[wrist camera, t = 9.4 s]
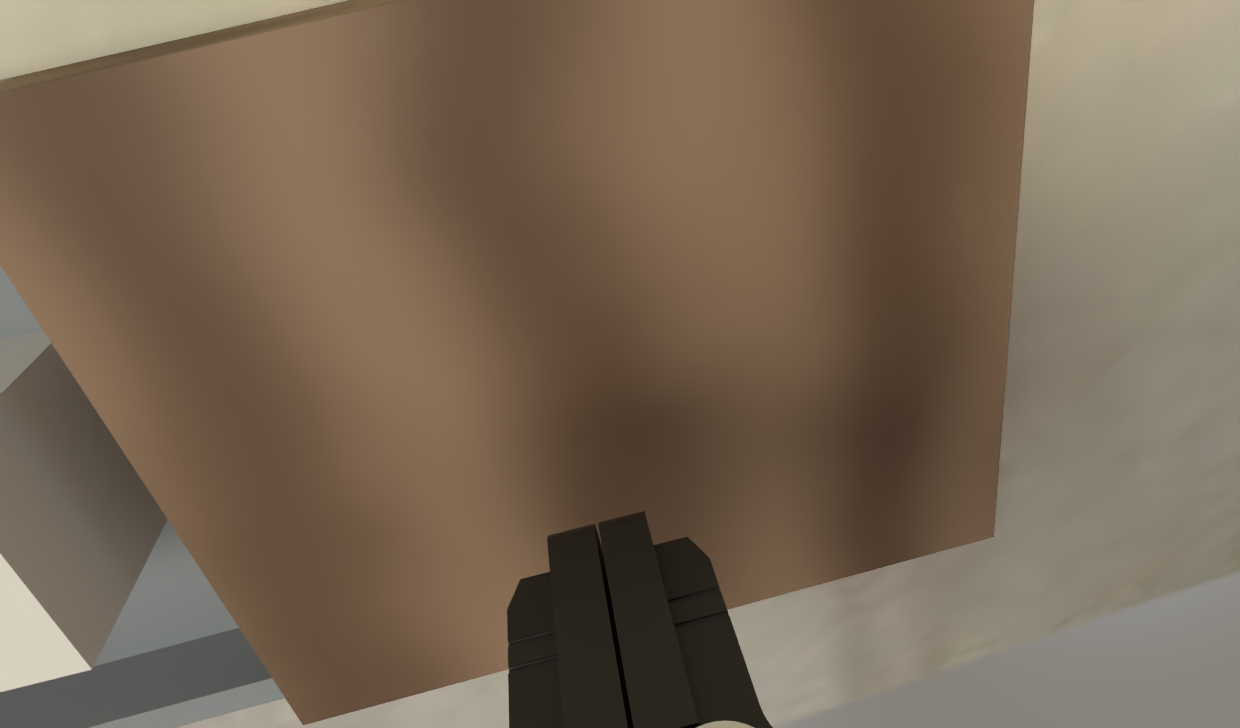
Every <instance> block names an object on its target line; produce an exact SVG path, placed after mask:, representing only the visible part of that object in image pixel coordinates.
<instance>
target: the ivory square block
mask: <svg viewBox="0 0 1240 728" xmlns="http://www.w3.org/2000/svg"><path fill="white" fill-rule="evenodd" d="M167 520H168V519H167V518H166V516H165V515H164V513H163V512H162V510H161V509H160V507H159V505H158V504H157V502H156V501H155V499H154V498H153V496H152V495H151V493H150V492H149V490H148V489H147V487H146V486H145V484H144V483H143V481H142V480H141V478H140V477H139V475H138V474H137V472H136V471H135V469H134V468H133V466H132V464H131V463H130V461H129V460H128V458H127V457H126V455H125V454H124V452H123V451H122V449H121V448H120V446H119V445H118V443H117V442H116V440H115V439H114V437H113V436H112V434H111V433H110V431H109V430H108V428H107V427H106V425H105V423H104V422H103V420H102V419H101V417H100V416H99V414H98V413H97V411H96V410H95V408H94V407H93V405H92V404H91V402H90V401H89V399H88V398H87V396H86V395H85V393H84V392H83V390H82V389H81V387H80V386H79V384H78V383H77V381H76V379H75V378H74V376H73V375H72V373H71V372H70V370H69V369H68V367H67V366H66V364H65V363H64V361H63V360H62V358H61V357H60V355H59V354H58V352H57V351H56V349H55V348H54V346H53V345H52V343H51V342H50V340H49V338H48V337H47V335H46V334H45V332H44V331H43V330H42V331H38V332H33V333H29V334H24V335H20V336H15V337H11V338H6V339H2V340H0V692H3V691H7V690H11V689H15V688H19V687H23V686H28V685H32V684H36V683H40V682H44V681H48V680H52V679H56V678H60V677H64V676H68V675H72V674H76V673H80V672H84V671H88V670H92V669H93V667H94V665H95V663H96V661H97V659H98V657H99V655H100V653H101V651H102V649H103V647H104V645H105V643H106V641H107V639H108V637H109V635H110V633H111V631H112V629H113V627H114V625H115V623H116V621H117V619H118V617H119V615H120V613H121V611H122V609H123V607H124V605H125V603H126V601H127V599H128V597H129V595H130V593H131V591H132V589H133V587H134V585H135V583H136V581H137V579H138V577H139V575H140V573H141V571H142V569H143V567H144V565H145V563H146V561H147V559H148V557H149V555H150V553H151V551H152V549H153V547H154V546H155V544H156V542H157V540H158V538H159V536H160V534H161V532H162V530H163V528H164V526H165V524H166V522H167Z"/></svg>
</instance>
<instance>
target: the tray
mask: <svg viewBox="0 0 1240 728" xmlns="http://www.w3.org/2000/svg"><path fill="white" fill-rule="evenodd" d="M17 77H18V76H17ZM13 78H15V77H13ZM9 79H12V78H8V79H4V80H0V82H3V81H6V80H9ZM42 330H43V329H42V328H41V326H40V325H39V323H38V322H37V320H36V319H35V317H34V316H33V314H32V313H31V311H30V310H29V308H28V307H27V305H26V304H25V302H24V301H23V299H22V297H21V296H20V294H19V293H18V291H17V290H16V288H15V287H14V285H13V284H12V282H11V281H10V279H9V278H8V276H7V275H6V273H5V272H4V270H3V269H2V267H1V266H0V340H2V339H6V338H11V337H15V336H20V335H24V334H29V333H33V332H38V331H42ZM282 698H285V697H284V695H283V694H282V692H281V691H280V689H279V688H278V686H277V685H276V683H275V682H274V680H273V679H272V677H271V676H270V674H269V672H268V671H267V669H266V668H265V666H264V665H263V663H262V662H261V660H260V659H259V657H258V656H257V654H256V653H255V651H254V650H253V648H252V647H251V645H250V644H249V642H248V641H247V639H246V638H245V636H244V635H243V633H242V631H241V630H240V628H239V627H238V625H237V624H236V622H235V621H234V619H233V618H232V616H231V615H230V613H229V612H228V610H227V609H226V607H225V606H224V604H223V603H222V601H221V600H220V598H219V597H218V595H217V594H216V592H215V591H214V589H213V587H212V586H211V584H210V583H209V581H208V580H207V578H206V577H205V575H204V574H203V572H202V571H201V569H200V568H199V566H198V565H197V563H196V562H195V560H194V559H193V557H192V556H191V554H190V553H189V551H188V550H187V548H186V546H185V545H184V543H183V542H182V540H181V539H180V537H179V536H178V534H177V533H176V531H175V530H174V528H173V527H172V525H171V524H170V522H169V521H168V520H167V522H166V524H165V526H164V528H163V530H162V532H161V534H160V536H159V538H158V540H157V542H156V544H155V546H154V547H153V549H152V551H151V553H150V555H149V557H148V559H147V561H146V563H145V565H144V567H143V569H142V571H141V573H140V575H139V577H138V579H137V581H136V583H135V585H134V587H133V589H132V591H131V593H130V595H129V597H128V599H127V601H126V603H125V605H124V607H123V609H122V611H121V613H120V615H119V617H118V619H117V621H116V623H115V625H114V627H113V629H112V631H111V633H110V635H109V637H108V639H107V641H106V643H105V645H104V647H103V649H102V651H101V653H100V655H99V657H98V659H97V661H96V663H95V665H94V667H93V669H92V670H88V671H84V672H80V673H76V674H72V675H68V676H64V677H60V678H56V679H52V680H48V681H44V682H40V683H36V684H32V685H28V686H23V687H19V688H15V689H11V690H7V691H3V692H0V728H175V727H179V726H183V725H186V724H190V723H194V722H197V721H201V720H205V719H209V718H212V717H216V716H220V715H223V714H227V713H231V712H234V711H238V710H242V709H245V708H249V707H253V706H256V705H260V704H264V703H268V702H271V701H275V700H279V699H282Z"/></svg>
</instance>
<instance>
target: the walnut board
mask: <svg viewBox="0 0 1240 728" xmlns="http://www.w3.org/2000/svg"><path fill="white" fill-rule="evenodd" d="M1033 9H1034V0H349V1H345V2H340V3H336V4H332V5H327V6H323V7H318V8H314V9H310V10H305V11H301V12H297V13H292V14H288V15H284V16H279V17H275V18H270V19H266V20H262V21H257V22H253V23H249V24H244V25H240V26H236V27H231V28H227V29H222V30H218V31H214V32H209V33H205V34H201V35H196V36H192V37H187V38H183V39H179V40H174V41H170V42H166V43H161V44H157V45H153V46H148V47H144V48H139V49H135V50H131V51H126V52H122V53H118V54H113V55H109V56H105V57H100V58H96V59H91V60H87V61H83V62H78V63H74V64H70V65H65V66H61V67H57V68H52V69H48V70H43V71H39V72H35V73H30V74H26V75H22V76H18V77H15V78H12V79H9V80H6V81H3V82H0V266H1V267H2V269H3V270H4V272H5V273H6V275H7V276H8V278H9V279H10V281H11V282H12V284H13V285H14V287H15V288H16V290H17V291H18V293H19V294H20V296H21V297H22V299H23V301H24V302H25V304H26V305H27V307H28V308H29V310H30V311H31V313H32V314H33V316H34V317H35V319H36V320H37V322H38V323H39V325H40V326H41V328H42V329H43V331H44V332H45V334H46V335H47V337H48V338H49V340H50V342H51V343H52V345H53V346H54V348H55V349H56V351H57V352H58V354H59V355H60V357H61V358H62V360H63V361H64V363H65V364H66V366H67V367H68V369H69V370H70V372H71V373H72V375H73V376H74V378H75V379H76V381H77V383H78V384H79V386H80V387H81V389H82V390H83V392H84V393H85V395H86V396H87V398H88V399H89V401H90V402H91V404H92V405H93V407H94V408H95V410H96V411H97V413H98V414H99V416H100V417H101V419H102V420H103V422H104V423H105V425H106V427H107V428H108V430H109V431H110V433H111V434H112V436H113V437H114V439H115V440H116V442H117V443H118V445H119V446H120V448H121V449H122V451H123V452H124V454H125V455H126V457H127V458H128V460H129V461H130V463H131V464H132V466H133V468H134V469H135V471H136V472H137V474H138V475H139V477H140V478H141V480H142V481H143V483H144V484H145V486H146V487H147V489H148V490H149V492H150V493H151V495H152V496H153V498H154V499H155V501H156V502H157V504H158V505H159V507H160V509H161V510H162V512H163V513H164V515H165V516H166V518H167V519H168V521H169V522H170V524H171V525H172V527H173V528H174V530H175V531H176V533H177V534H178V536H179V537H180V539H181V540H182V542H183V543H184V545H185V546H186V548H187V550H188V551H189V553H190V554H191V556H192V557H193V559H194V560H195V562H196V563H197V565H198V566H199V568H200V569H201V571H202V572H203V574H204V575H205V577H206V578H207V580H208V581H209V583H210V584H211V586H212V587H213V589H214V591H215V592H216V594H217V595H218V597H219V598H220V600H221V601H222V603H223V604H224V606H225V607H226V609H227V610H228V612H229V613H230V615H231V616H232V618H233V619H234V621H235V622H236V624H237V625H238V627H239V628H240V630H241V631H242V633H243V635H244V636H245V638H246V639H247V641H248V642H249V644H250V645H251V647H252V648H253V650H254V651H255V653H256V654H257V656H258V657H259V659H260V660H261V662H262V663H263V665H264V666H265V668H266V669H267V671H268V672H269V674H270V676H271V677H272V679H273V680H274V682H275V683H276V685H277V686H278V688H279V689H280V691H281V692H282V694H283V695H284V697H285V698H286V700H287V701H288V703H289V704H290V706H291V707H292V709H293V710H294V712H295V713H296V715H297V717H298V718H299V720H300V721H301V723H302V724H303V725H306V724H309V723H313V722H317V721H320V720H324V719H328V718H331V717H335V716H339V715H342V714H346V713H350V712H353V711H357V710H361V709H364V708H368V707H372V706H375V705H379V704H383V703H386V702H390V701H394V700H397V699H401V698H405V697H408V696H412V695H416V694H419V693H423V692H427V691H430V690H434V689H438V688H441V687H445V686H449V685H452V684H456V683H460V682H463V681H467V680H471V679H474V678H478V677H482V676H485V675H489V674H493V673H496V672H500V671H504V670H507V669H509V668H508V647H509V644H508V633H507V609H508V606H509V604H510V602H511V599H512V597H513V595H514V592H515V590H516V588H517V586H518V583H519V581H520V579H523V578H527V577H531V576H535V575H538V574H542V573H546V572H550V567H549V555H548V543H547V537H548V535H552V534H556V533H560V532H564V531H568V530H572V529H576V528H579V527H583V526H587V525H591V524H595V526H596V528H597V532H598V535H599V538H600V532H599V525H598V523H599V522H602V521H606V520H610V519H614V518H618V517H622V516H626V515H630V514H634V513H638V512H642V511H645V515H646V519H647V522H648V526H649V530H650V534H651V538H652V542H653V545H656V544H660V543H664V542H668V541H672V540H676V539H680V538H684V537H688V538H689V539H690V540H691V541H693V542H694V543H695V544H696V545H697V546H698V547H699V548H700V549H701V550H702V551H703V552H704V553H705V554H706V555H707V556H708V557H709V558H710V561H711V564H712V567H713V569H714V572H715V575H716V578H717V581H718V584H719V587H720V591H721V593H722V596H723V599H724V602H725V605H726V608H727V609H731V608H734V607H738V606H742V605H745V604H749V603H753V602H756V601H760V600H764V599H767V598H771V597H775V596H778V595H782V594H786V593H789V592H793V591H797V590H800V589H804V588H808V587H811V586H815V585H819V584H822V583H826V582H830V581H833V580H837V579H841V578H844V577H848V576H852V575H855V574H859V573H863V572H866V571H870V570H874V569H877V568H881V567H885V566H888V565H892V564H895V563H899V562H903V561H906V560H910V559H914V558H917V557H921V556H925V555H928V554H932V553H936V552H939V551H943V550H947V549H950V548H954V547H958V546H961V545H965V544H969V543H972V542H976V541H980V540H983V539H987V538H991V537H994V524H995V511H996V498H997V484H998V471H999V458H1000V445H1001V432H1002V418H1003V405H1004V392H1005V379H1006V366H1007V352H1008V339H1009V326H1010V313H1011V299H1012V286H1013V273H1014V260H1015V247H1016V233H1017V220H1018V207H1019V194H1020V181H1021V167H1022V154H1023V141H1024V128H1025V115H1026V101H1027V88H1028V75H1029V62H1030V49H1031V35H1032V22H1033ZM600 542H601V538H600ZM601 545H602V543H601Z"/></svg>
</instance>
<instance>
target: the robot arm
mask: <svg viewBox="0 0 1240 728" xmlns="http://www.w3.org/2000/svg"><path fill="white" fill-rule="evenodd" d="M598 525H599V532H600V538H601V542H600V538H599V535H598V532H597V528H596V526H595V524H591V525H587V526H583V527H579V528H576V529H572V530H568V531H564V532H560V533H556V534H552V535H548V537H547V543H548V555H549V567H550V572H546V573H542V574H538V575H535V576H531V577H527V578H523V579H520V581H519V583H518V586H517V588H516V590H515V592H514V595H513V597H512V599H511V602H510V604H509V606H508V609H507V633H508V644H509V647H508V668H509V674H508V681H509V728H773V727H772V726H771V725H770V724H769V722H768V721H767V719H766V718H765V716H764V714H763V712H762V709H761V707H760V705H759V702H758V699H757V696H756V693H755V690H754V687H753V684H752V681H751V678H750V675H749V672H748V669H747V666H746V663H745V660H744V658H743V655H742V652H741V649H740V646H739V643H738V640H737V637H736V634H735V631H734V628H733V625H732V622H731V619H730V617H729V615H728V611H727V608H726V605H725V602H724V599H723V596H722V593H721V591H720V587H719V584H718V581H717V578H716V575H715V572H714V569H713V567H712V564H711V561H710V558H709V557H708V556H707V555H706V554H705V553H704V552H703V551H702V550H701V549H700V548H699V547H698V546H697V545H696V544H695V543H694V542H693V541H691V540H690V539H689V538H688V537H684V538H680V539H676V540H672V541H668V542H664V543H660V544H656V545H653V542H652V538H651V534H650V530H649V526H648V522H647V519H646V515H645V511H642V512H638V513H634V514H630V515H626V516H622V517H618V518H614V519H610V520H606V521H602V522H599V523H598ZM601 543H602V545H601Z"/></svg>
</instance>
